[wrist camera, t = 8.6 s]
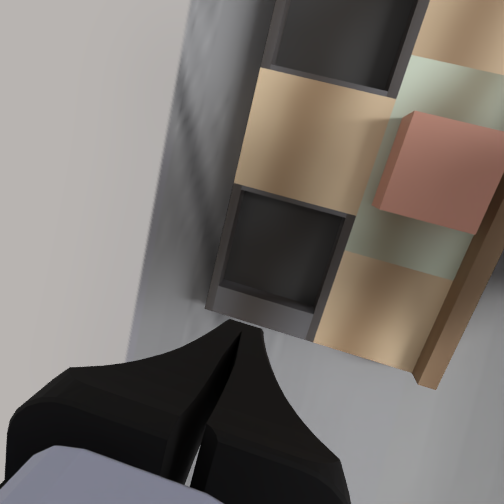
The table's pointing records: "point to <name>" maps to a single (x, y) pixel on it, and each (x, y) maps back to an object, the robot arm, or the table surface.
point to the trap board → (360, 180)
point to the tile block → (441, 171)
